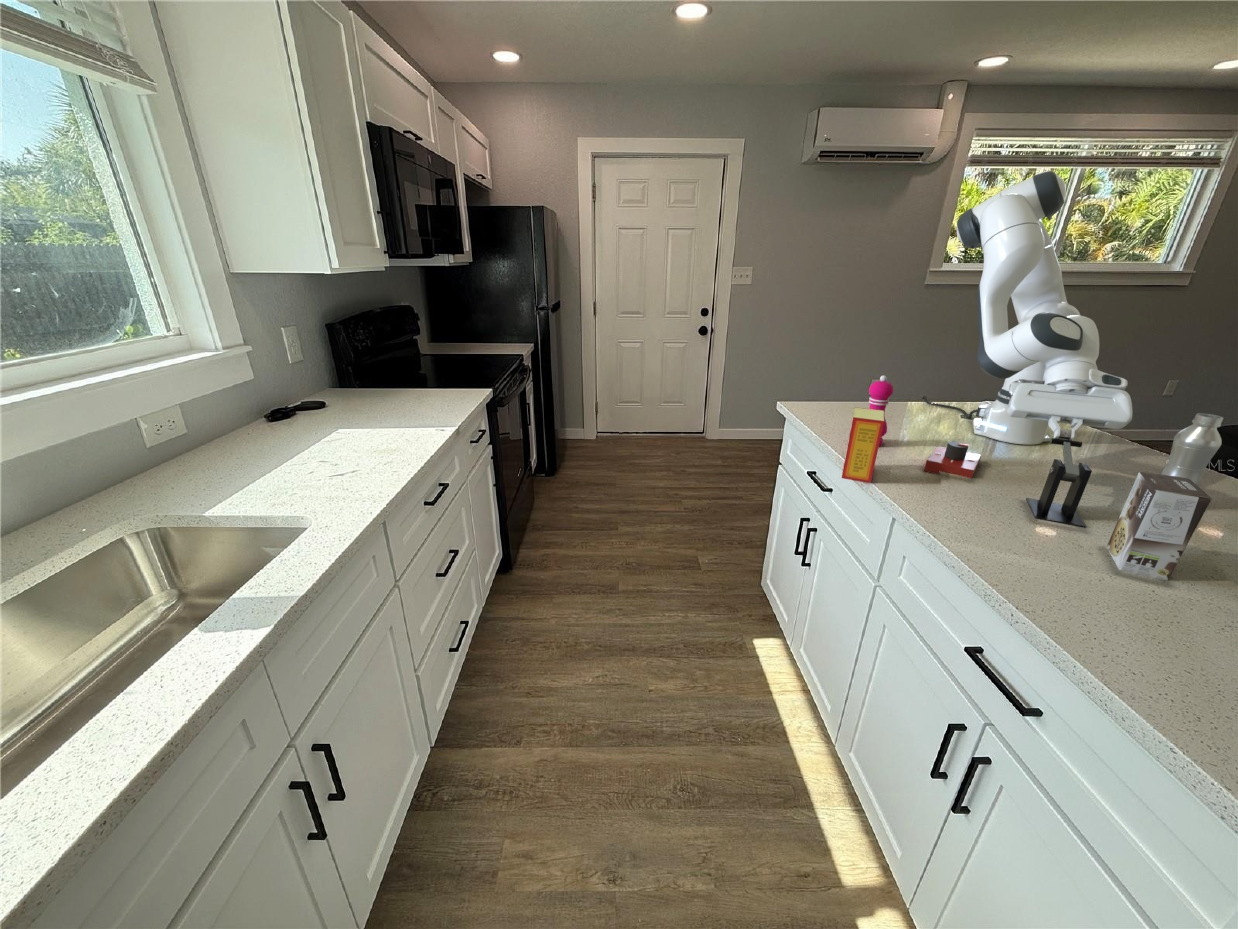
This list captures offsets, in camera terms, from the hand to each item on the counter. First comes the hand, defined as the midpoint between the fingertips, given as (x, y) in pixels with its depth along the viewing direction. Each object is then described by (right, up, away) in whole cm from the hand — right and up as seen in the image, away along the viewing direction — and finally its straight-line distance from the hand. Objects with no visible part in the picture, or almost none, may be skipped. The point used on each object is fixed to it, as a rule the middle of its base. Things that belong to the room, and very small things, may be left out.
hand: (1063, 438), depth 104 cm
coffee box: (-4, -24, -18) cm, 30 cm away
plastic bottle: (+26, -14, +4) cm, 30 cm away
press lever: (-2, -5, -2) cm, 6 cm away
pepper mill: (-21, +1, +39) cm, 45 cm away
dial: (-9, -4, +21) cm, 23 cm away
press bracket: (-4, -16, -1) cm, 17 cm away
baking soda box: (-35, -8, +19) cm, 40 cm away
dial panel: (-9, -6, +22) cm, 25 cm away
